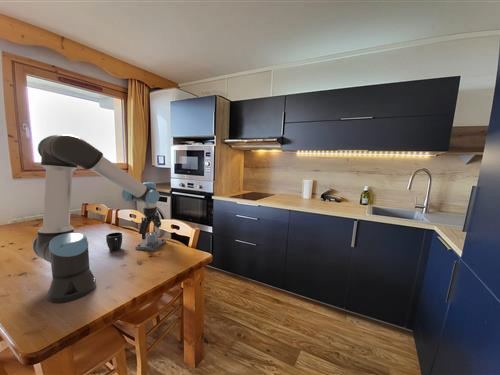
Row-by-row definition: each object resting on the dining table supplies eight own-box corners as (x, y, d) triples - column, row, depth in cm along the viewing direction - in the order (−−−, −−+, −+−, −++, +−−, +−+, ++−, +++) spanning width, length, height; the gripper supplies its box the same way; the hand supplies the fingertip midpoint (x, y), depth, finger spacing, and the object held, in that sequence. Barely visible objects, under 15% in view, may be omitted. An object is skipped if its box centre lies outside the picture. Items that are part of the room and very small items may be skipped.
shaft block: (153, 251, 125) (153, 238, 124) (135, 249, 127) (134, 236, 126) (166, 242, 139) (165, 230, 138) (149, 240, 141) (149, 229, 140)
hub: (153, 245, 129) (152, 236, 128) (142, 244, 130) (142, 235, 129) (159, 241, 136) (159, 232, 135) (149, 240, 137) (149, 231, 136)
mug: (108, 256, 117) (106, 240, 116) (106, 248, 127) (105, 233, 126) (124, 252, 122) (123, 237, 121) (122, 245, 132) (121, 231, 131)
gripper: (142, 211, 117) (144, 248, 120) (166, 203, 141) (167, 234, 144) (130, 211, 118) (132, 247, 121) (156, 202, 142) (157, 233, 145)
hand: (151, 240), depth 132 cm, fingers open, 12 cm apart
